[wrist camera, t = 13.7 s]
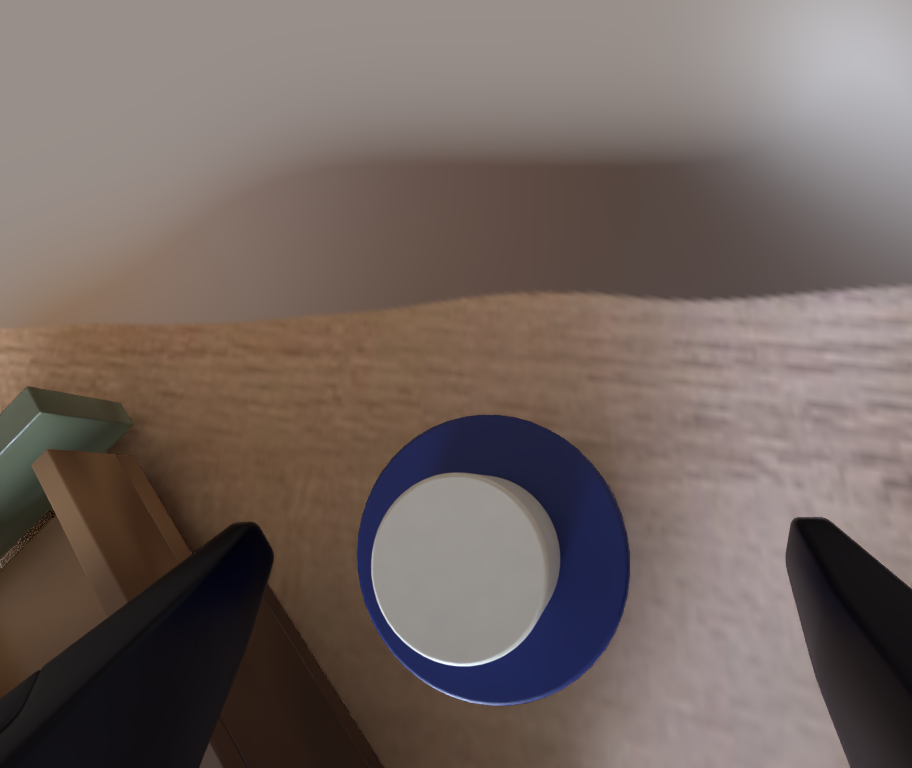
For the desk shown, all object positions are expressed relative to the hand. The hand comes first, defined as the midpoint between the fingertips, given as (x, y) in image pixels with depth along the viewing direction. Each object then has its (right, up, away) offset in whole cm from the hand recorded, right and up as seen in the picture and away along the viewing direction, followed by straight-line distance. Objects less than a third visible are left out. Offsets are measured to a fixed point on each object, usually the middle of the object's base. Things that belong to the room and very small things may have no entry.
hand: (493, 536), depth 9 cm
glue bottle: (+2, -2, +7) cm, 8 cm away
